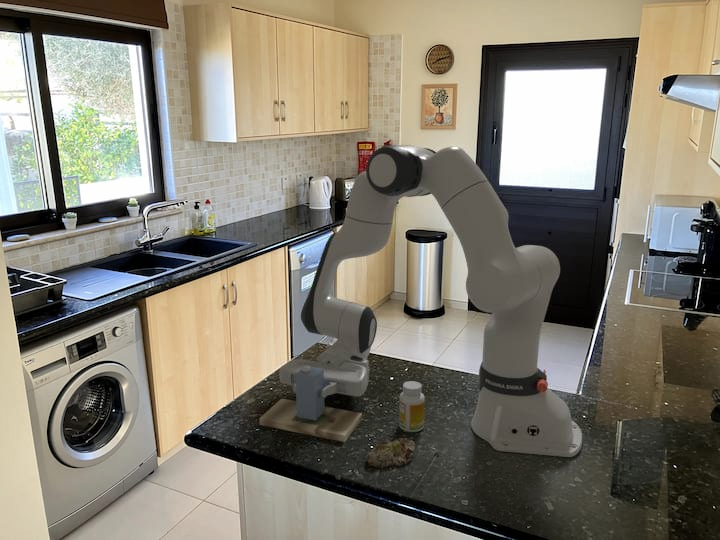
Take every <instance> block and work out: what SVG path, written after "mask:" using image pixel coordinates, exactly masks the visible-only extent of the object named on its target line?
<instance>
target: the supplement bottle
mask: <svg viewBox="0 0 720 540" xmlns="http://www.w3.org/2000/svg"><path fill="white" fill-rule="evenodd" d="M422 387H423V386H422V384H421V382H418V381H414V380H413V381H412V380H411V381H410V380H408V381H405V382H403V385H402V392H401V393H400V394H399V399H398V400H399V403H398V404H399V407H398V409H399V411H398V412H399V413H398V426H399V428H400V429H401V430H403V431H404V432H408V433H417V432H420V431H421V430H423V429H424V428H425V408H426V407H425V404H426V403H425V401H426V400H425V399H426V397H425V395H424V393H422V390H423V388H422Z"/></svg>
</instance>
